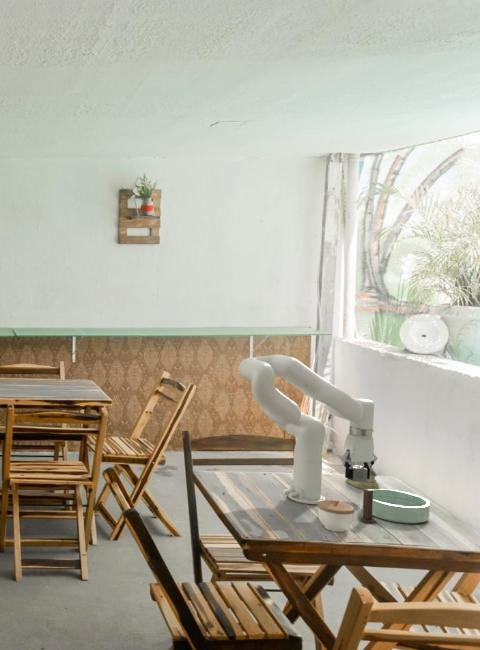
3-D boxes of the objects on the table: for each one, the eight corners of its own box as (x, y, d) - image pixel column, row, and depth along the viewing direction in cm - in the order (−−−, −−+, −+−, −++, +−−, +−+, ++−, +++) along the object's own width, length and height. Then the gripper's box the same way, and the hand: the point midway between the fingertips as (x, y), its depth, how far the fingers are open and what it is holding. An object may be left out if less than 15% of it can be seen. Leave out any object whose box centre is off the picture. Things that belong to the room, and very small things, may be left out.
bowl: (396, 527, 225) (397, 509, 225) (350, 507, 244) (350, 491, 244) (443, 522, 230) (443, 505, 230) (394, 503, 249) (394, 487, 249)
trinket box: (352, 536, 216) (353, 508, 216) (315, 530, 222) (316, 502, 222) (354, 526, 225) (355, 499, 225) (318, 520, 231) (319, 493, 231)
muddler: (367, 523, 228) (368, 492, 227) (356, 519, 232) (357, 488, 232) (377, 522, 229) (379, 491, 228) (367, 518, 233) (368, 487, 233)
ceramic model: (342, 478, 279) (342, 454, 278) (371, 479, 277) (372, 456, 277) (356, 489, 265) (357, 464, 265) (386, 490, 263) (387, 465, 263)
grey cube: (362, 479, 255) (363, 466, 255) (366, 482, 250) (367, 469, 250) (347, 477, 256) (348, 464, 256) (351, 481, 251) (352, 468, 251)
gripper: (371, 429, 258) (367, 474, 259) (333, 429, 254) (330, 476, 255) (387, 434, 251) (384, 480, 252) (349, 434, 247) (345, 482, 248)
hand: (357, 478), depth 253 cm, fingers closed on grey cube, 6 cm apart
